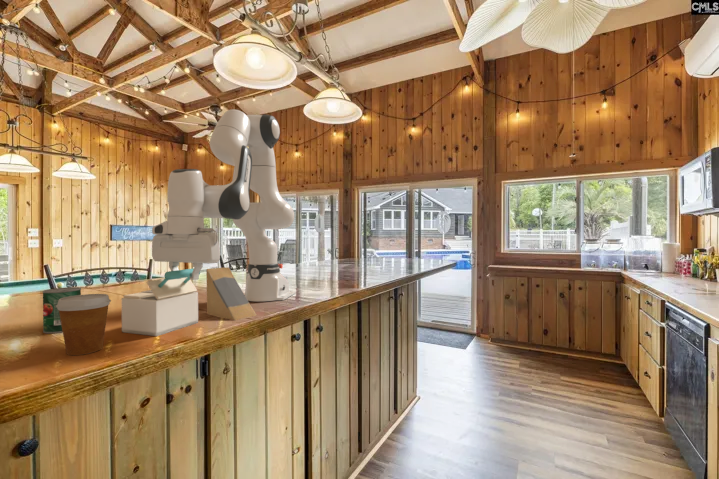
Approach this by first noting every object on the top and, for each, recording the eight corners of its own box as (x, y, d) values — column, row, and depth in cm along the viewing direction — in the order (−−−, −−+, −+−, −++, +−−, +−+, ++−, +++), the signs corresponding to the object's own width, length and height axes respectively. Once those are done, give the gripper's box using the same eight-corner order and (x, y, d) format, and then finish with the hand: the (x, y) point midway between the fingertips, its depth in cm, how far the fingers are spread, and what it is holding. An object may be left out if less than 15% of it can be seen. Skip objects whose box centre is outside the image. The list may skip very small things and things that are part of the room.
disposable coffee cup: (48, 361, 69) (47, 302, 69) (66, 346, 78) (66, 295, 78) (104, 354, 73) (104, 299, 73) (116, 341, 82) (115, 292, 82)
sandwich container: (234, 321, 102) (234, 271, 101) (205, 314, 110) (205, 268, 110) (258, 315, 109) (257, 269, 108) (229, 309, 117) (228, 266, 117)
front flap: (157, 299, 86) (172, 284, 85) (146, 282, 87) (161, 267, 86) (196, 291, 99) (209, 278, 97) (186, 276, 100) (199, 263, 98)
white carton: (166, 319, 103) (166, 290, 103) (198, 322, 99) (198, 292, 99) (121, 332, 90) (121, 298, 90) (156, 336, 86) (156, 301, 86)
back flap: (164, 290, 102) (164, 287, 102) (179, 291, 101) (179, 288, 101) (123, 297, 90) (123, 294, 90) (139, 298, 88) (139, 295, 88)
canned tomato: (36, 331, 90) (35, 290, 90) (70, 324, 97) (70, 286, 97) (53, 335, 87) (53, 292, 87) (87, 327, 94) (87, 288, 94)
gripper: (225, 228, 91) (225, 279, 91) (167, 228, 97) (166, 276, 97) (208, 227, 85) (207, 282, 85) (147, 227, 91) (147, 278, 91)
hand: (185, 279), depth 91 cm, fingers open, 4 cm apart
